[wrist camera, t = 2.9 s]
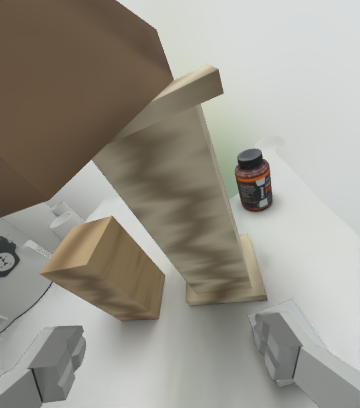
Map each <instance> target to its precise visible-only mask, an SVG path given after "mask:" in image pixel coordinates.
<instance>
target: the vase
mask: <svg viewBox="0 0 360 408" xmlns="http://www.w3.org/2000/svg"><path fill="white" fill-rule="evenodd" d="M0 219H1V220H3V221H4V222H6V223H7V224H9V225H10V226H12V227H13V228H15V229H16V230H18V231H19V232H21V233H22V234H23V235H25V236H27V237H28V238H29V239H31V240H32V241H34V242H35V243H36V244H38V245H39V246H41V247H42V248H44V249H45V250H47V251H48V252H50V253H51V254H53V253H54V252H55V251H56V249H57V248H58V247H59V245H60V244H61V243H62V241H63V240H64V238H65V237H66V236H67V234H68V233H69V232H70V230H71V229H72V227H74V226H78V225H82V224H85V222H84V221H83V220H82V219H81V218H80V217H79V216H78V215H77V214H76V213H75V212H74V211H73V210H72V209H71V208H69V207H68V206H67V205H66V204H65V203H64V202H63V201H62V202H59V203H57V204H56V205H54V206H53V207H52V208H50V207H48V206H47V205H46V204H45V203H44V202H43V203H40V204H37V205H34V206H32V207H29V208H26V209H23V210H21V211H18V212H15V213H12V214H10V215H7V216H4V217H1V218H0Z"/></svg>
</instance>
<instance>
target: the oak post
mask: <svg viewBox="0 0 360 408" xmlns="http://www.w3.org/2000/svg"><path fill="white" fill-rule="evenodd" d="M39 274H40V275H42V276H44V277H45V278H47V279H49V280H51V281H52V282H54V283H56V284H58V285H59V286H61V287H63V288H65V289H66V290H68V291H70V292H72V293H73V294H75V295H77V296H79V297H80V298H82V299H84V300H86V301H87V302H89V303H91V304H93V305H94V306H96V307H98V308H100V309H101V310H103V311H105V312H107V313H108V314H110V315H112V316H114V317H115V318H117V319H119V320H121V321H128V320H146V319H159V313H160V306H161V299H162V292H163V285H164V278H165V275H164V273H163V272H162V271H161V270H160V269H159V268H158V267H157V266H156V264H155V263H154V262H153V261H152V260H151V259H150V258H149V256H148V255H147V254H146V253H145V252H144V251H143V250H142V249H141V247H140V246H139V245H138V244H137V243H136V242H135V241H134V240H133V238H132V237H131V236H130V235H129V234H128V233H127V232H126V231H125V229H124V228H123V227H122V226H121V225H120V224H119V223H118V222H117V220H116V219H115V218H114V217H113V216H110V217H106V218H103V219H99V220H96V221H92V222H89V223H85V224H82V225H78V226H74V227H72V229H71V230H70V232H69V233H68V234H67V236H66V237H65V238H64V240H63V241H62V243H61V244H60V245H59V247H58V248H57V249H56V251H55V252H54V253H53V255H52V256H51V258H50V259H49V260H48V262H47V263H46V264H45V266H44V267H43V269H42V270H41V271H40V273H39Z"/></svg>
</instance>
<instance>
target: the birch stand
mask: <svg viewBox="0 0 360 408" xmlns="http://www.w3.org/2000/svg"><path fill="white" fill-rule="evenodd" d="M221 94H223V88H222V84H221V79H220V74H219V70H218V69H217V68H215V67H213V66H211V65H209V64H206V65H204V66H202V67H200V68H198V69H196V70H194V71H192V72H190V73H188V74H186V75H184V76H182V77H180V78H178V79H176V80H174V81H172V82H171V83H170V84H169V85H168V86H167V87H166V88H165V89H164V90H163V91H162V92H161V93H160V94H159V95H158V96H157V97H155V98H154V99H153V100H152V101H151V102H150V103H149V104H148V105H147V106H146V107H145V108H144V109H143V110H142V111H141V112H140V113H139V114H138V115H137V116H136V117H135V118H134V119H133V120H132V121H131V122H130V123H129V124H128V125H126V126H125V127H124V128H123V129H122V130H121V131H120V132H119V133H118V134H117V135H116V136H115V137H114V138H113V139H112V140H111V141H110V142H109V143H108V144H107V145H106V146H105V147H104V148H103V149H102V150H101V151H100V152H98V153H97V154H96V155H95V156H94V157H93V158H92V161H93V162H94V163H95V165H96V166H97V167H98V168H99V170H100V171H101V172H102V174H103V175H104V176H105V177H106V179H107V180H108V181H109V183H110V184H111V185H112V186H113V188H114V189H115V190H116V192H117V193H118V194H119V196H120V197H121V198H122V199H123V201H124V202H125V203H126V205H127V206H128V207H129V208H130V210H131V211H132V212H133V214H134V215H135V216H136V217H137V219H138V220H139V221H140V223H141V224H142V225H143V226H144V228H145V229H146V230H147V232H148V233H149V234H150V235H151V237H152V238H153V239H154V241H155V242H156V243H157V245H158V246H159V247H160V248H161V250H162V251H163V252H164V254H165V255H166V256H167V257H168V259H169V260H170V261H171V263H172V264H173V265H174V266H175V268H176V269H177V270H178V272H179V273H180V274H181V275H182V277H183V278H184V279H185V281H186V282H187V283H186V302H187V304H188V305H189V306H192V305H205V304H219V303H232V302H245V301H258V300H267V296H266V292H265V289H264V285H263V282H262V279H261V275H260V272H259V268H258V265H257V262H256V258H255V255H254V252H253V248H252V245H251V242H250V238H249V235H248V234H244V235H239V234H238V230H237V227H236V223H235V220H234V217H233V213H232V210H231V206H230V203H229V200H228V196H227V193H226V189H225V186H224V182H223V179H222V176H221V173H220V169H219V165H218V162H217V159H216V155H215V152H214V148H213V145H212V142H211V138H210V135H209V131H208V128H207V125H206V121H205V118H204V114H203V111H202V107H201V103H203V102H205V101H207V100H210V99H212V98H214V97H216V96H218V95H221Z"/></svg>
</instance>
